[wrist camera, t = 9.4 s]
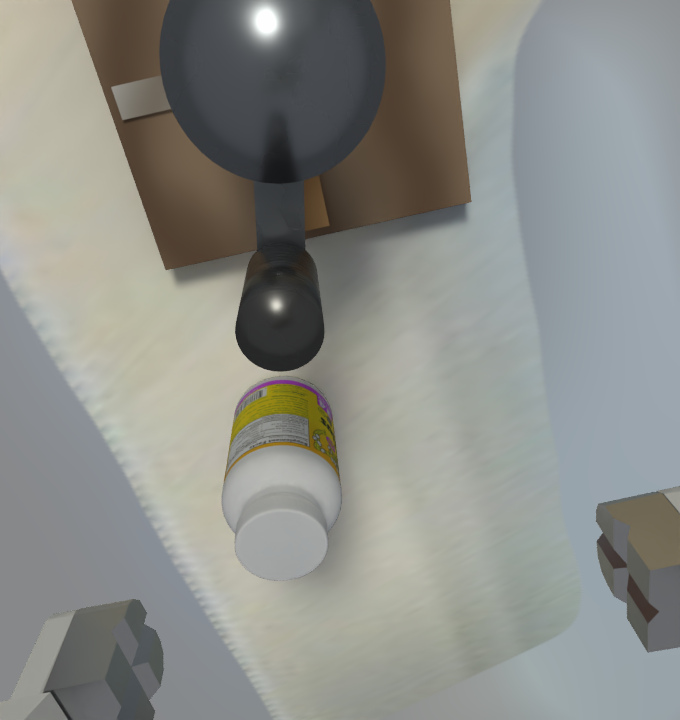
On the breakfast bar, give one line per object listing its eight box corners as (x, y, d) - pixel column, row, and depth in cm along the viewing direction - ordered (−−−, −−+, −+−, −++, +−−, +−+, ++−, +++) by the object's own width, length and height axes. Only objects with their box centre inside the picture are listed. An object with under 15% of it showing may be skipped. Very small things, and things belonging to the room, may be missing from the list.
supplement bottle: (327, 456, 44) (341, 597, 32) (234, 453, 43) (214, 597, 32) (335, 373, 41) (353, 495, 29) (235, 369, 40) (213, 492, 29)
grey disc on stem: (162, -54, 22) (101, -109, 15) (378, -50, 23) (420, -100, 16) (197, 294, 28) (165, 374, 21) (368, 291, 29) (395, 368, 22)
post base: (421, -189, 28) (471, -284, 20) (464, 196, 36) (512, 234, 28) (46, -100, 29) (-45, -159, 21) (170, 262, 37) (138, 316, 29)
